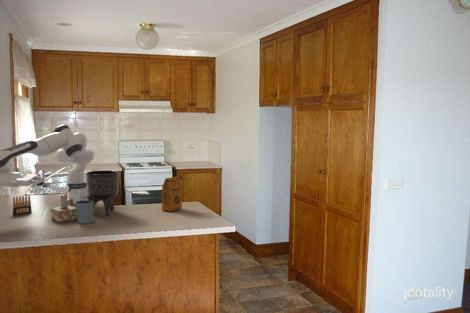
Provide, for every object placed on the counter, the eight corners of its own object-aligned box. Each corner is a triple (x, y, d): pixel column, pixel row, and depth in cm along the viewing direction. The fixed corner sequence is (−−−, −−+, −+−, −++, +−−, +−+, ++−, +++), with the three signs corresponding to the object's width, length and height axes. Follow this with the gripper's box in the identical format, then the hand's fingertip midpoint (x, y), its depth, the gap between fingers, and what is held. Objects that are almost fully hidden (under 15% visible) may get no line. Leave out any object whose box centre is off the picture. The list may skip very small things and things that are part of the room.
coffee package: (184, 209, 285) (183, 176, 283) (170, 212, 275) (170, 178, 273) (173, 207, 291) (173, 175, 289) (159, 210, 281) (159, 177, 279)
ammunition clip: (13, 215, 265) (12, 196, 264) (12, 215, 267) (11, 196, 265) (31, 213, 272) (31, 194, 271) (30, 212, 273) (30, 194, 272)
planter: (102, 209, 285) (101, 169, 283) (125, 211, 277) (125, 171, 274) (80, 214, 268) (79, 173, 265) (104, 218, 259) (103, 175, 257)
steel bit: (66, 217, 257) (65, 194, 256) (68, 218, 255) (67, 194, 254) (60, 218, 255) (59, 194, 254) (62, 219, 252) (62, 195, 251)
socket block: (69, 216, 263) (69, 205, 262) (77, 219, 255) (77, 208, 254) (51, 219, 255) (51, 208, 254) (58, 222, 247) (58, 211, 246)
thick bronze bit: (71, 213, 271) (71, 198, 270) (75, 215, 267) (74, 199, 266) (62, 215, 267) (62, 199, 266) (66, 216, 263) (65, 200, 262)
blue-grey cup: (83, 224, 244) (82, 203, 243) (72, 222, 249) (71, 202, 248) (97, 221, 252) (97, 201, 251) (86, 218, 258) (85, 199, 256)
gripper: (10, 177, 238) (37, 178, 240) (22, 171, 258) (46, 172, 260) (10, 188, 238) (37, 189, 241) (21, 181, 258) (46, 182, 261)
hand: (41, 180), depth 251 cm, fingers open, 8 cm apart
